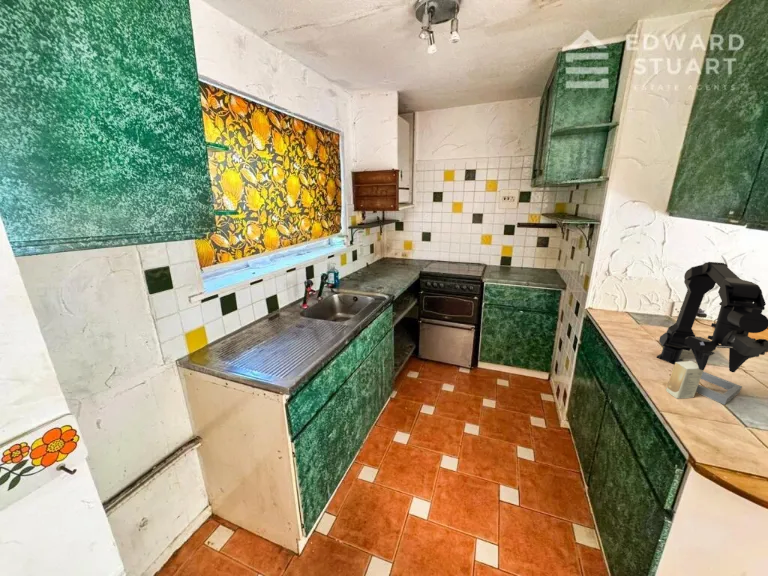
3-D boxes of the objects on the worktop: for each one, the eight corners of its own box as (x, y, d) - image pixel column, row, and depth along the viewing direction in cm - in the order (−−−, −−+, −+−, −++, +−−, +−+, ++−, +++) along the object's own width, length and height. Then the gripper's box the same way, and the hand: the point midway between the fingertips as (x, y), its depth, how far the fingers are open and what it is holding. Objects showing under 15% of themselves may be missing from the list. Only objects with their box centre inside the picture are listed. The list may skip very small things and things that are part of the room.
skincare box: (681, 390, 108) (692, 360, 104) (694, 398, 104) (706, 367, 100) (664, 390, 108) (674, 361, 104) (675, 398, 104) (687, 368, 100)
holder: (691, 372, 117) (693, 367, 116) (739, 392, 106) (742, 386, 105) (675, 383, 112) (677, 377, 111) (724, 404, 101) (727, 398, 100)
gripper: (726, 330, 84) (711, 381, 87) (796, 334, 84) (779, 386, 87) (689, 318, 95) (676, 364, 98) (750, 322, 94) (736, 368, 98)
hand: (716, 370), depth 95 cm, fingers open, 9 cm apart
